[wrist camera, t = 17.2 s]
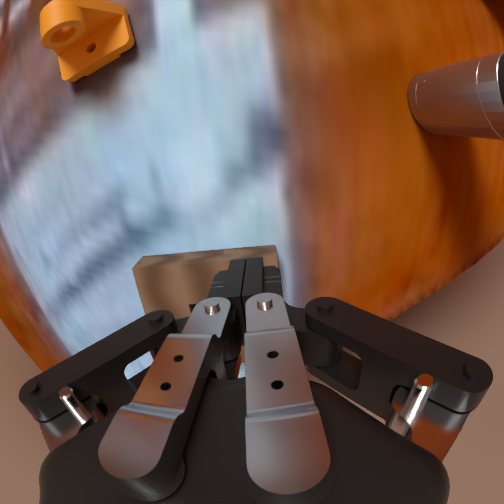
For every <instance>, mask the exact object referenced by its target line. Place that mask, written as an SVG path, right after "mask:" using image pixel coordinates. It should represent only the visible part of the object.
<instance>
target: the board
mask: <svg viewBox="0 0 504 504" xmlns="http://www.w3.org/2000/svg"><path fill="white" fill-rule="evenodd" d="M252 257H263V263H264V266H273V265H275V266H276V267H277V268H278V257H277V252H276V248H275V245H268V246H256V247H244V248H233V249H221V250H210V251H198V252H187V253H176V254H165V255H154V256H143V257H142V258H141V259H140V260H139V261H138V262H137V264H136V265H135V266H134V267H133V268H132V270H133V274H134V278H135V281H136V285H137V288H138V292H139V295H140V299H141V302H142V305H143V308H144V312H145V315H146V314H148V313H150V312H153V311H157V310H168V311H170V312H172V313H173V315H174V318H175V320H176V319H180V318H185V317H188V316H190V315H191V313H192V311H193V309H194V307H195V306H196V305H197V304H198V303H199V302H201V301H202V300H205V299H207V296H208V293H209V290H210V288H211V284H212V281H213V279H214V276H215V275H216V274H217V273H218V272H220V271H223V270H228V267H229V263H230V260H233V259H242V258H246V260H247V258H252ZM240 354H241V362H245V346H241V352H240Z"/></svg>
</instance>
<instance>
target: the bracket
mask: <svg viewBox="0 0 504 504" xmlns="http://www.w3.org/2000/svg"><path fill="white" fill-rule="evenodd" d="M40 32H41V44H42V46H43V47H45V48H48V49H54V51H55V52H56V53H57V55H58V58H59V64H60V70H61V75H62V79H63V80H66V81H70V82H75V81H77V80H78V79H79V78H81V77H83V76H84V75H85V76H88V75H90V74H91V73H93V72H95V71H96V70H98V69H100V68H101V67H103V66H105V65H106V64H108V63H110V62H112V61H113V60H115V59H117V58H119V57H121V55H120V54H121V53H123V52H125V51H127V50H129V49H130V48H132V46H133V45H134V37H133V34H132V30H131V26H130V22H129V19H128V15H127V11H126V9H125V8H124V7H123V6H122V5H121V4H117V3H113V2H109V1H104V0H53V1H51V2H50V3H48V4H47V5H46V6H45V7H44V8H43V9H42V11H41V13H40Z"/></svg>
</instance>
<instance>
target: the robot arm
mask: <svg viewBox="0 0 504 504" xmlns="http://www.w3.org/2000/svg"><path fill="white" fill-rule="evenodd" d="M408 102H409V106H410V109H411V112H412V114H413V116H414V118H415V120H416V121H417V122H418V124H419V125H420V126H421V127H422V128H423V129H425V130H426V131H428V132H429V133H432V134H435V135H450V136H463V137H476V138H486V139H495V140H503V141H504V52H503V53H498V54H493V55H488V56H484V57H479V58H475V59H471V60H467V61H463V62H459V63H455V64H452V65H448V66H444V67H441V68H437V69H434V70H431V71H428V72H424V73H421V74H418V75H417V76H415V77H414V78H413V79H412V81H411V83H410V85H409V89H408ZM241 346H245V374H246V377H242V378H238V374H239V370H240V365H241V354H240V352H241ZM343 347H345V348H347V349H349V350H351V351H353V352H355V353H356V354H357V355H358V356H359V357H360V358H361V360H362V361H361V360H359V359H358V358H356V357H354V356H352V355H350V354H348V353H347V352H345V351H343V350H342V348H343ZM148 351H150V353H151V355H152V357H153V360H154V361H153V363H152V364H151V365H150V366H149V367H147V368H146V369H144V370H143V371H141V372H140V373H138V374H136V375H135V376H133V377H132V378H130V379H128V380H127V379H126V377H125V375H124V370H125V367H126V366H127V365H128V364H129V363H131V362H132V361H134V360H136V359H137V358H139V357H140V356H142V355H144V354H145V353H147V352H148ZM304 365H306V367H307V370H308V371H309V372H310V373H311V374H312V375H314V376H315V377H317V378H319V379H320V380H321V381H323V382H325V383H326V384H328V385H329V386H331V387H332V388H334V389H335V390H337V391H338V392H340V393H341V394H343V395H345V396H346V397H348V398H350V399H351V400H353V401H354V402H356V403H358V404H359V405H361V406H362V407H364V408H366V409H367V410H369V411H371V412H372V413H374V414H376V415H378V416H379V417H381V418H383V419H384V420H385V424H383V423H381V422H380V421H378V420H377V419H375V418H373V417H372V416H371V415H369V414H367V413H366V412H364V411H363V410H361V409H360V408H358V407H357V406H355V405H354V404H352V403H351V402H349V401H348V400H347V399H345V398H344V397H342V396H341V395H339V394H338V393H336V392H335V391H333V390H332V389H330V388H328V387H326V386H324V385H322V384H319V383H317V382H313V381H309V380H308V377H307V374H306V369H305V366H304ZM492 381H493V373H492V370H491V368H490V367H489V365H488V364H487V363H486V362H485V361H483V360H481V359H479V358H477V357H475V356H472V355H470V354H467V353H465V352H462V351H460V350H458V349H455V348H453V347H450V346H448V345H445V344H443V343H440V342H438V341H436V340H433V339H431V338H429V337H426V336H424V335H421V334H419V333H416V332H414V331H412V330H409V329H407V328H405V327H402V326H400V325H397V324H395V323H392V322H390V321H388V320H386V319H383V318H381V317H379V316H376V315H374V314H371V313H369V312H367V311H364V310H362V309H360V308H357V307H355V306H353V305H350V304H348V303H346V302H343V301H341V300H339V299H336V298H332V297H320V298H316V299H313V300H311V301H310V302H308V303H307V304H306V306H305V308H296V307H293V306H290V305H288V304H287V303H286V302H285V301H284V300H283V293H282V285H281V276H280V270H279V269H278V268H277V267H276V266H275V265H273V266H264V263H263V257H252V258H247V260H246V258H242V259H233V260H230V263H229V267H228V270H223V271H220V272H218V273H217V274H216V275H215V276H214V279H213V281H212V284H211V288H210V290H209V293H208V296H207V299H205V300H202V301H201V302H199V303H198V304H197V305H196V306H195V307H194V309H193V311H192V313H191V315H190V316H188V317H185V318H180V319H176V320H175V318H174V315H173V313H172V312H170V311H168V310H157V311H153V312H150V313H148V314H146V315H144V316H143V317H141V318H139V319H137V320H135V321H134V322H132V323H130V324H128V325H127V326H125V327H123V328H121V329H119V330H118V331H116V332H114V333H112V334H111V335H109V336H107V337H105V338H103V339H102V340H100V341H98V342H96V343H94V344H93V345H91V346H89V347H87V348H86V349H84V350H82V351H80V352H78V353H77V354H75V355H73V356H71V357H69V358H68V359H66V360H64V361H62V362H60V363H59V364H57V365H55V366H53V367H52V368H50V369H48V370H46V371H44V372H43V373H41V374H39V375H37V376H35V377H34V378H32V379H30V380H28V381H27V382H26V383H25V384H24V385H23V386H22V388H21V390H20V392H19V399H20V401H21V402H22V404H23V405H24V406H25V407H26V408H27V410H28V411H29V412H30V413H31V415H32V416H33V418H34V420H35V421H36V422H37V423H38V424H39V425H40V428H41V431H42V434H43V436H44V439H45V441H46V444H47V446H48V449H49V451H50V453H49V454H48V455H47V457H46V458H45V459H44V461H43V463H42V465H41V469H40V474H39V485H40V503H39V504H447V501H448V497H449V490H450V489H449V488H450V484H449V477H448V474H447V471H446V469H445V467H444V465H443V464H442V461H443V459H444V458H445V456H446V455H447V453H448V452H449V450H450V448H451V447H452V445H453V443H454V441H455V440H456V438H457V436H458V434H459V433H460V431H461V430H462V429H463V427H464V426H465V424H466V423H467V422H468V420H469V419H470V417H471V416H472V414H473V413H474V411H475V410H476V408H477V407H478V405H479V403H480V402H481V400H482V399H483V397H484V395H485V394H486V392H487V390H488V389H489V387H490V385H491V383H492Z"/></svg>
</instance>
